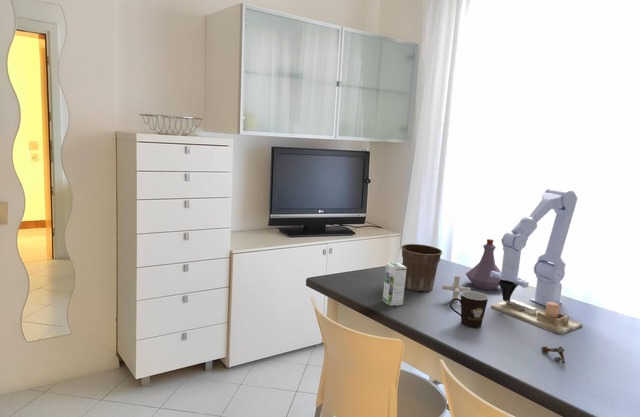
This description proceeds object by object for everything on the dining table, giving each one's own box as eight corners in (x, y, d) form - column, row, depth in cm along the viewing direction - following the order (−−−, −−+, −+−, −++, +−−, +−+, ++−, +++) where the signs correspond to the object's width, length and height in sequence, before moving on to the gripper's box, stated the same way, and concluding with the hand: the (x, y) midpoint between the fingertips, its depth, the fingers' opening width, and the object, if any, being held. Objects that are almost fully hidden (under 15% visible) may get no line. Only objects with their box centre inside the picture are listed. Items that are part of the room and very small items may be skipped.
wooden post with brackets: (563, 363, 130) (561, 346, 131) (543, 362, 137) (541, 346, 138) (569, 363, 130) (566, 346, 131) (548, 361, 138) (546, 345, 139)
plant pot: (443, 287, 193) (447, 248, 190) (430, 297, 180) (434, 256, 177) (406, 278, 202) (410, 241, 199) (391, 287, 188) (394, 248, 185)
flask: (482, 278, 208) (487, 234, 205) (514, 290, 195) (520, 243, 191) (455, 282, 200) (461, 236, 197) (487, 295, 186) (493, 246, 183)
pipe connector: (469, 308, 171) (472, 281, 169) (441, 304, 173) (444, 278, 171) (467, 298, 180) (469, 273, 179) (440, 295, 182) (442, 270, 181)
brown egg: (548, 317, 163) (550, 301, 162) (559, 321, 160) (562, 305, 159) (541, 319, 160) (544, 303, 159) (553, 324, 157) (556, 307, 156)
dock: (513, 301, 181) (514, 292, 180) (581, 326, 159) (583, 316, 159) (490, 307, 173) (491, 298, 172) (559, 334, 152) (560, 324, 151)
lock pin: (509, 303, 174) (510, 298, 174) (536, 314, 166) (536, 308, 165) (506, 304, 173) (506, 299, 173) (532, 314, 164) (533, 309, 164)
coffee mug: (484, 321, 158) (488, 293, 157) (484, 331, 150) (488, 301, 149) (449, 315, 162) (452, 287, 160) (447, 324, 154) (450, 295, 152)
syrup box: (381, 300, 173) (385, 262, 170) (396, 299, 175) (399, 262, 172) (388, 306, 167) (392, 267, 165) (403, 305, 169) (407, 266, 167)
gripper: (486, 261, 176) (482, 295, 178) (522, 271, 164) (517, 308, 166) (498, 259, 180) (494, 293, 182) (533, 269, 168) (528, 305, 170)
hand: (506, 300), depth 174 cm, fingers closed
